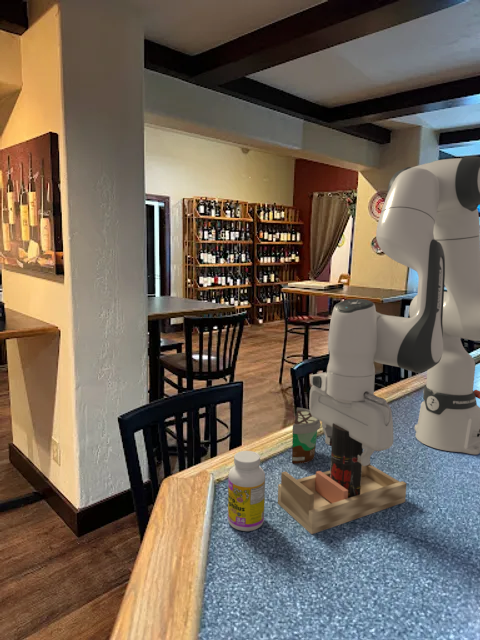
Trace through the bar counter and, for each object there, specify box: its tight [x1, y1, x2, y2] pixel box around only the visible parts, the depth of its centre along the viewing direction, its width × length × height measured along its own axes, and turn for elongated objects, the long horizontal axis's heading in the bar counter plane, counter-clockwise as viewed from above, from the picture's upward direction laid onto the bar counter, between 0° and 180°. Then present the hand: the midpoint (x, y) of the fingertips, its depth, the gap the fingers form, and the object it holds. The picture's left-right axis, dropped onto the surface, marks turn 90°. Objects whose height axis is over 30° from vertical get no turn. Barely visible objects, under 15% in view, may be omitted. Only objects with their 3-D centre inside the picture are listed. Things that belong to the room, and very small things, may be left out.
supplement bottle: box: [227, 450, 266, 532], centre depth 83 cm, size 7×7×13 cm
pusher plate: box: [315, 470, 348, 503], centre depth 89 cm, size 1×8×4 cm, turn 28°
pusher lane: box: [277, 463, 408, 535], centre depth 90 cm, size 23×11×7 cm, turn 118°
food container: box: [291, 407, 322, 465], centre depth 110 cm, size 12×6×10 cm, turn 168°
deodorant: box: [329, 423, 364, 498], centre depth 90 cm, size 6×6×15 cm
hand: (346, 453), depth 90 cm, fingers open, 8 cm apart
